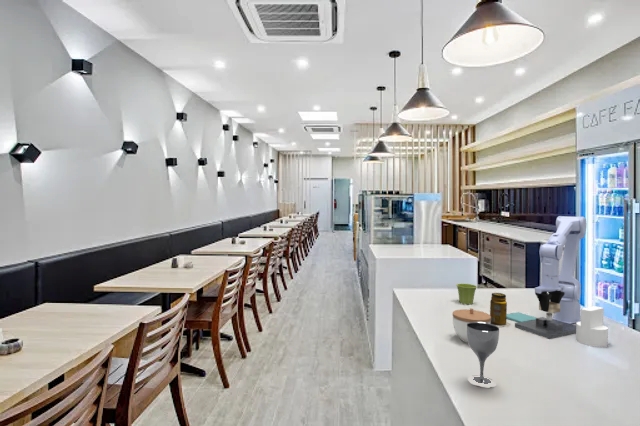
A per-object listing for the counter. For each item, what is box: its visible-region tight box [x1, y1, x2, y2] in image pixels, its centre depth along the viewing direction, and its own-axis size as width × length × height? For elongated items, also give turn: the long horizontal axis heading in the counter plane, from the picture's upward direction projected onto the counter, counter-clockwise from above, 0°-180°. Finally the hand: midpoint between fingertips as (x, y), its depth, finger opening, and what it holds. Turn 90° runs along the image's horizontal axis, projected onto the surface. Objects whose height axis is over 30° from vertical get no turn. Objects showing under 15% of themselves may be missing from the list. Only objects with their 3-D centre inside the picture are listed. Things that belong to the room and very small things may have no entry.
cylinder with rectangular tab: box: [575, 305, 609, 348], centre depth 130 cm, size 9×9×12 cm
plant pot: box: [455, 283, 478, 305], centre depth 182 cm, size 9×9×9 cm
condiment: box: [489, 292, 511, 328], centre depth 150 cm, size 7×8×12 cm
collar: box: [538, 302, 560, 314], centre depth 143 cm, size 5×5×3 cm
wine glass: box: [467, 322, 500, 384], centre depth 99 cm, size 8×8×15 cm
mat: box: [506, 311, 537, 323], centre depth 157 cm, size 11×10×1 cm
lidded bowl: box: [452, 308, 491, 343], centre depth 131 cm, size 13×13×11 cm
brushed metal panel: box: [514, 312, 576, 340], centre depth 143 cm, size 20×14×6 cm
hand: (549, 310), depth 143 cm, fingers closed on collar, 5 cm apart
